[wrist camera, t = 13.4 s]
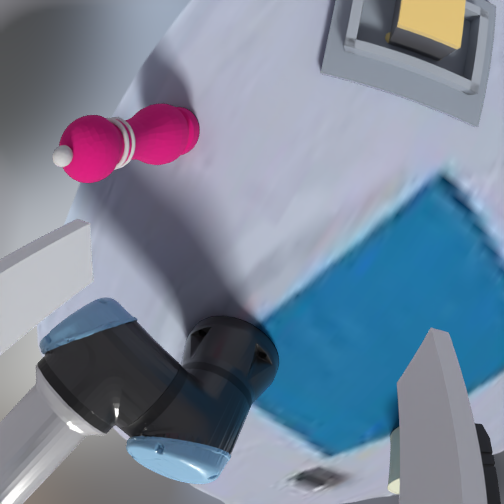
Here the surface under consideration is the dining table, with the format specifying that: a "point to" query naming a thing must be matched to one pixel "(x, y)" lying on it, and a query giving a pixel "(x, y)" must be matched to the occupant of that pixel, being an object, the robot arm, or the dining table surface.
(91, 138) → the pepper mill
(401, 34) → the plug
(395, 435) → the can
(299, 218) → the dining table surface
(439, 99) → the socket
